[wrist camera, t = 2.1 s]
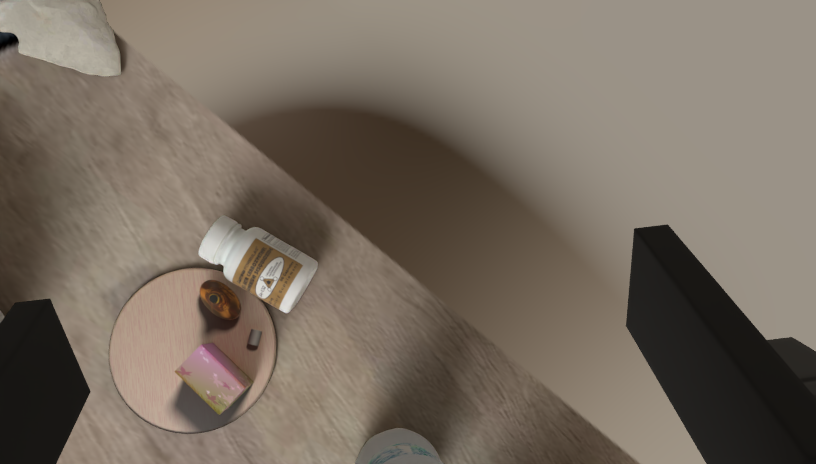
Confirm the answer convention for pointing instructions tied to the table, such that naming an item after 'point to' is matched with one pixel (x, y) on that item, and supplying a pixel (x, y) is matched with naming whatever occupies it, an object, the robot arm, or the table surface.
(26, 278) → the table surface
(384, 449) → the bottle
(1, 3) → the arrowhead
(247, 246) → the pill bottle
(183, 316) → the round wooden tray
